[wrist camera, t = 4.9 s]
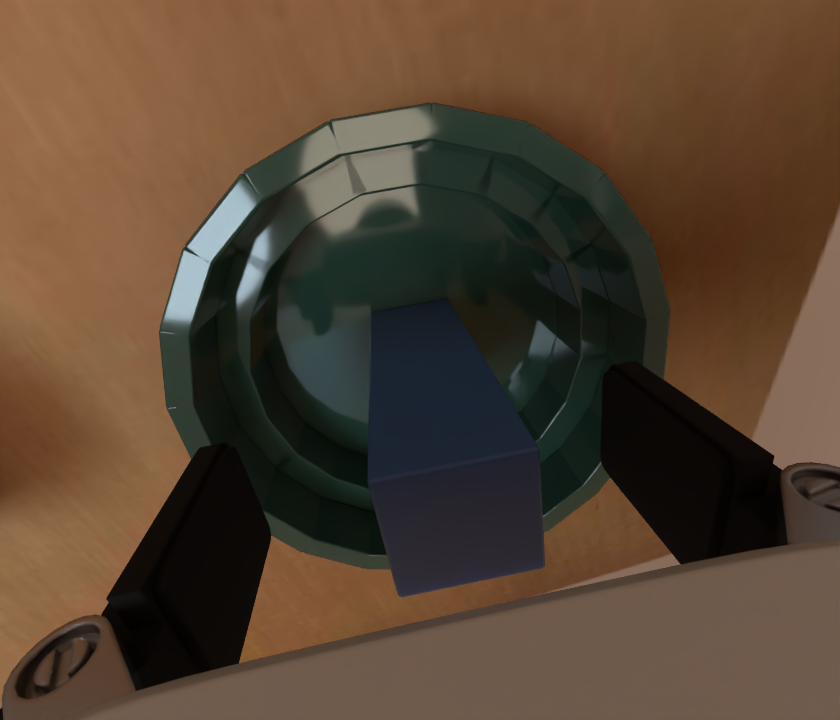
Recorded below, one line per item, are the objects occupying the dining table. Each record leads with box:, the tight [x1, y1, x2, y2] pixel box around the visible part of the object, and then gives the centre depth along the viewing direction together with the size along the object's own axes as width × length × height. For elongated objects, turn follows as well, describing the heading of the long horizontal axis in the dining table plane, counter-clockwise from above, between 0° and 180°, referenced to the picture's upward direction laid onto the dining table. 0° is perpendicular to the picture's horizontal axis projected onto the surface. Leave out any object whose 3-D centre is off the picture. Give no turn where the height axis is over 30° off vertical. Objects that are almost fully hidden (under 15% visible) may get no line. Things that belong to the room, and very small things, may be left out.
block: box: [367, 299, 545, 597], centre depth 13 cm, size 3×3×10 cm
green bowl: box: [159, 103, 670, 570], centre depth 15 cm, size 16×16×5 cm
